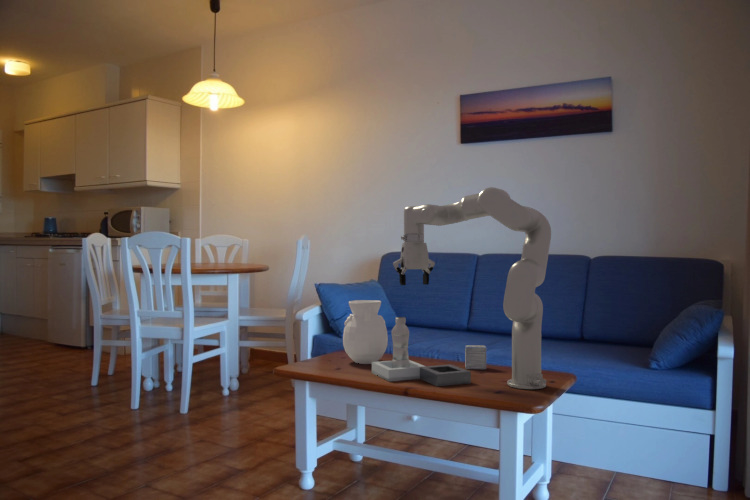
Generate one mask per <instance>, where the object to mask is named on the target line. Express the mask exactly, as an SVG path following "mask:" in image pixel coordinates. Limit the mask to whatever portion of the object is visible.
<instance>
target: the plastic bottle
mask: <svg viewBox="0 0 750 500" xmlns="http://www.w3.org/2000/svg"><path fill="white" fill-rule="evenodd" d="M394 321H395V325H394V326H393V328H392V329H391V339H392V359H391V361H392V368H404V367H410V362H409V360H410V359H409V339H410V338H409V337H410V330H409V327H408V326H407V325H406V322H407V320H406V317H405V316H398V317H395V320H394Z"/></svg>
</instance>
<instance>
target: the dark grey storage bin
mask: <svg viewBox="0 0 750 500" xmlns="http://www.w3.org/2000/svg"><path fill="white" fill-rule="evenodd" d="M419 380H422V381H424V382H426V383H429V384H430V385H433V386H435V387H444V386H445V387H446V386H456V385H465V384H466V385H468V384H472V381H471V380H472V371H470V370H469V369H466V368H465V369H464V368H463V367H459V366H457V365H453V364H451V363H450V364H440V365H428V366H426V365H424V367H420V379H419Z"/></svg>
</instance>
